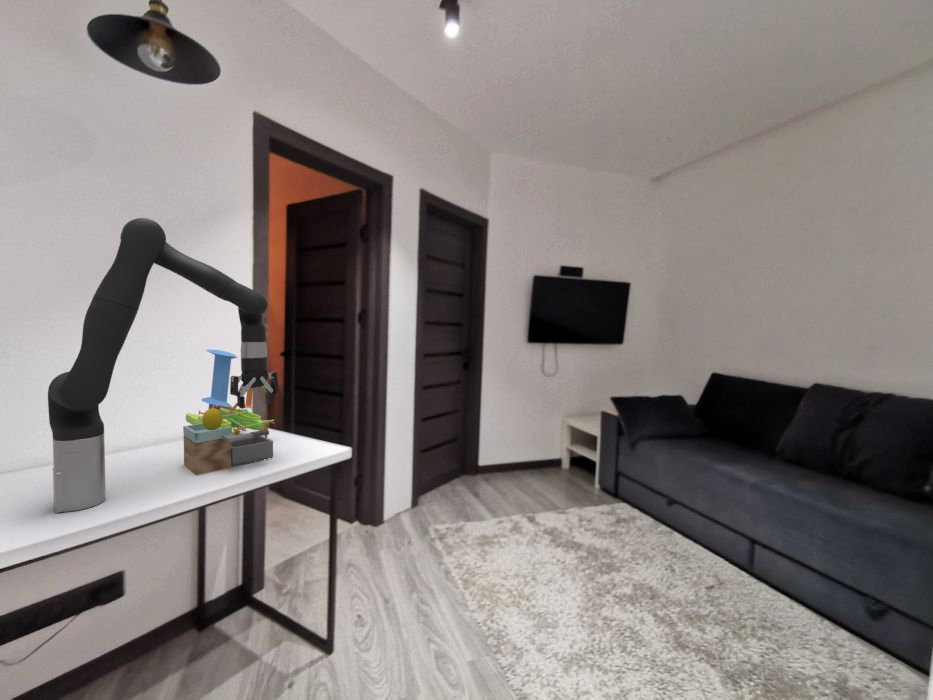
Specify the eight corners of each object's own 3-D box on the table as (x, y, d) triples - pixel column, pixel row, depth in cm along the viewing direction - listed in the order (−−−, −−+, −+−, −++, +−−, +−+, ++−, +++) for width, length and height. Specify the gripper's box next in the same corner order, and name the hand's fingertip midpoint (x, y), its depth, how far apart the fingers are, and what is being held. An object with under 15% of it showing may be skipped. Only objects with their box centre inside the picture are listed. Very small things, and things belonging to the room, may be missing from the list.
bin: (232, 466, 130) (232, 448, 129) (218, 457, 138) (218, 440, 138) (273, 458, 139) (273, 440, 139) (257, 450, 148) (257, 433, 147)
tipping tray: (202, 447, 117) (201, 437, 117) (183, 435, 130) (183, 426, 129) (269, 434, 132) (268, 425, 131) (246, 424, 144) (246, 416, 144)
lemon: (200, 434, 127) (199, 409, 126) (206, 430, 132) (205, 406, 132) (220, 433, 128) (219, 408, 128) (225, 429, 134) (224, 405, 133)
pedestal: (196, 475, 122) (195, 443, 121) (184, 465, 130) (183, 435, 130) (231, 467, 129) (231, 437, 129) (217, 458, 137) (217, 430, 137)
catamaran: (221, 428, 173) (229, 348, 169) (276, 448, 161) (286, 363, 158) (178, 438, 156) (186, 350, 153) (236, 461, 145) (246, 366, 141)
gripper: (269, 354, 137) (270, 401, 138) (225, 356, 126) (226, 408, 127) (281, 355, 133) (282, 403, 134) (236, 358, 121) (238, 411, 122)
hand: (255, 405), depth 130 cm, fingers open, 8 cm apart
